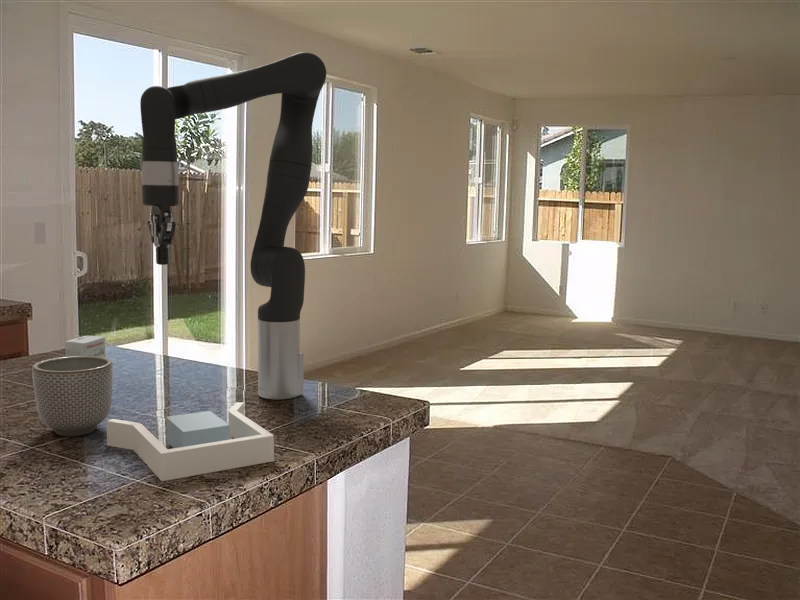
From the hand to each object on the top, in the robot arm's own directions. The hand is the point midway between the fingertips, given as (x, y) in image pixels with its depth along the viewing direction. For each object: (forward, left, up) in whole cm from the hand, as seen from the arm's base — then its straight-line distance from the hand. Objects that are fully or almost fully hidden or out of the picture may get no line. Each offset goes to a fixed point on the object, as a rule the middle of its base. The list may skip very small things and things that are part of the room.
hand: (162, 264), depth 172 cm
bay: (+6, +40, -29) cm, 50 cm away
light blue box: (+6, +40, -29) cm, 50 cm away
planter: (+22, +18, -29) cm, 41 cm away
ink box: (+14, -12, -29) cm, 35 cm away
